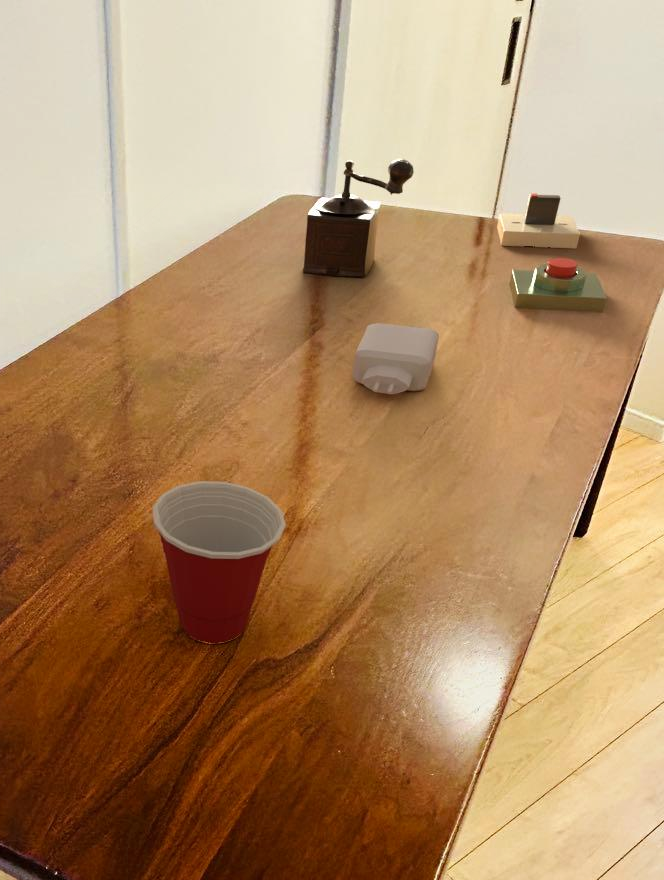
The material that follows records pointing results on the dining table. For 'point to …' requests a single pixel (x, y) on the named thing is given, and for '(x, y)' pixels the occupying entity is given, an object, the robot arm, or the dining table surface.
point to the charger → (395, 358)
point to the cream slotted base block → (537, 232)
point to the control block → (557, 291)
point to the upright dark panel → (542, 209)
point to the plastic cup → (216, 553)
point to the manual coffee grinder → (348, 226)
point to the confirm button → (561, 267)
